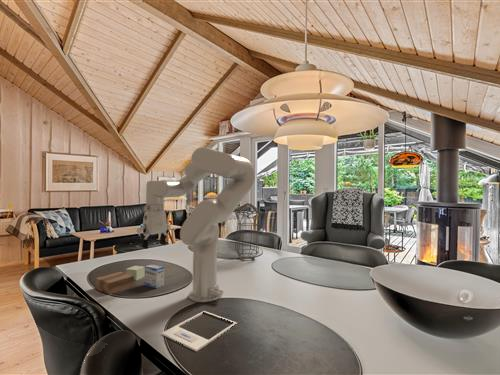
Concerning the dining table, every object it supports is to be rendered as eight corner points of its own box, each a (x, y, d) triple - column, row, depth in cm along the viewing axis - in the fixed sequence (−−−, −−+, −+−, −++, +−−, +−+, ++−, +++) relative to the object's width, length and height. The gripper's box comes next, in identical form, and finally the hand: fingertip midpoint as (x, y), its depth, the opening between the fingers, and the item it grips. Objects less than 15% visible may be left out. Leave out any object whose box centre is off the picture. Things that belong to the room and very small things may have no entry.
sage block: (144, 276, 133) (145, 266, 133) (136, 280, 127) (136, 270, 127) (134, 275, 135) (134, 265, 135) (125, 279, 129) (126, 268, 129)
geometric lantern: (231, 256, 174) (233, 202, 175) (254, 255, 179) (256, 202, 179) (237, 262, 159) (239, 203, 160) (262, 261, 163) (264, 203, 164)
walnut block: (133, 287, 119) (134, 275, 119) (109, 295, 110) (109, 283, 110) (119, 282, 125) (119, 271, 125) (95, 289, 116) (95, 277, 116)
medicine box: (143, 285, 121) (144, 266, 121) (151, 282, 125) (151, 263, 125) (156, 288, 117) (156, 268, 117) (164, 285, 121) (164, 266, 121)
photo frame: (161, 332, 81) (204, 310, 95) (161, 336, 81) (204, 313, 95) (196, 349, 72) (237, 322, 87) (196, 353, 72) (237, 325, 87)
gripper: (143, 209, 112) (142, 251, 112) (175, 207, 126) (174, 244, 126) (132, 208, 116) (131, 248, 116) (164, 206, 130) (163, 242, 130)
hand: (154, 246), depth 121 cm, fingers open, 9 cm apart
